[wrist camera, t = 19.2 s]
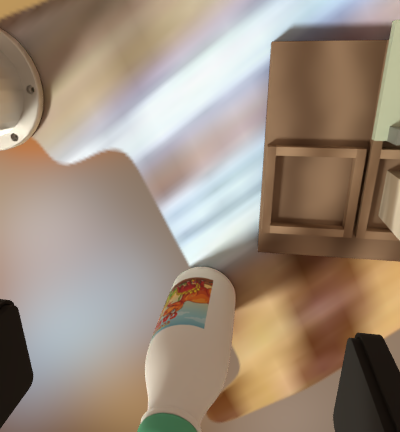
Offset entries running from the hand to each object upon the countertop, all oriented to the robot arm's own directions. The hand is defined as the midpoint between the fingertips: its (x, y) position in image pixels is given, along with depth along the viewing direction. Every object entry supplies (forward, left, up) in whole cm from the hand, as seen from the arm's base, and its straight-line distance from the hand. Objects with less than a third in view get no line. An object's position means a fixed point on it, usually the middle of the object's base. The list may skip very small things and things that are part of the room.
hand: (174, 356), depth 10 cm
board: (+12, 0, -28) cm, 31 cm away
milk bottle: (-3, -17, -28) cm, 33 cm away
